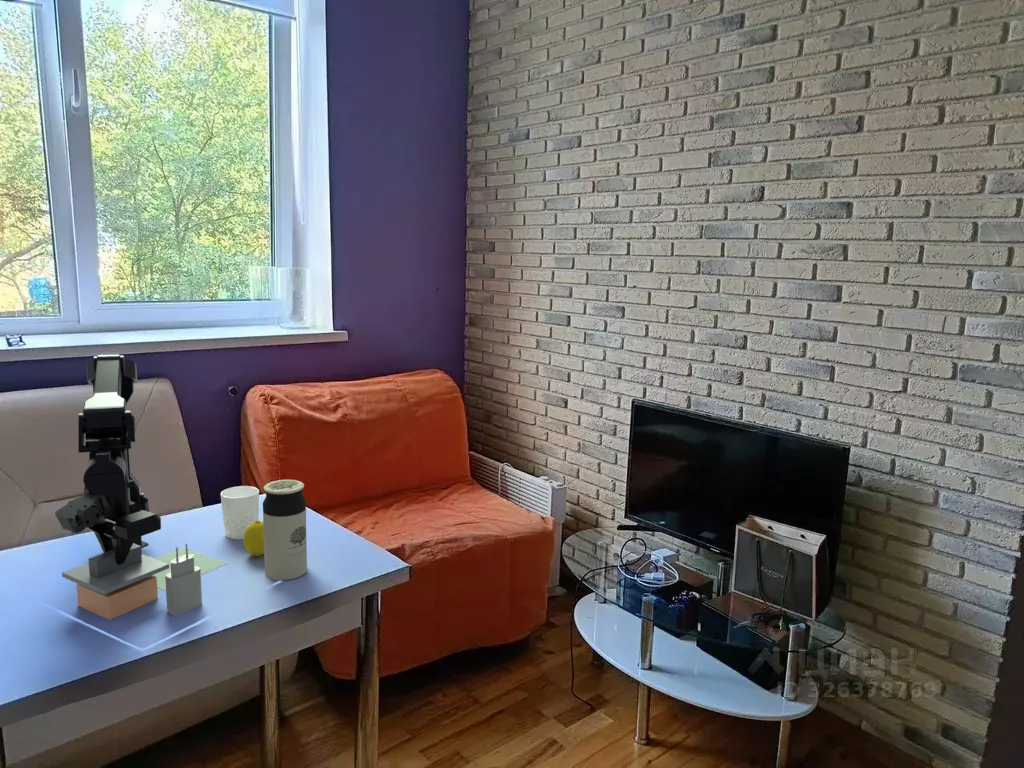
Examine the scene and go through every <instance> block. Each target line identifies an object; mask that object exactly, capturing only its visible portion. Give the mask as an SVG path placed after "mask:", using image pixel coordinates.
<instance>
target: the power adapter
mask: <svg viewBox="0 0 1024 768" xmlns="http://www.w3.org/2000/svg"><path fill="white" fill-rule="evenodd" d="M178 549H179V548H178V547H175V550H176V558H175V559H173V560H171V563H170V564H171V572H170V573H167V574H166V575H165V581H166V591H165V593H166V594H165V596H166V613H168V614H170V615H172V616H175V617H178V616H182V615H183V614H185V613H187V612H190V611H191V610H194V609H197V608H199V607H201V606H202V605H203V595H202V575H201V570H200V567H197V566H195V565H194V554H188V550H189V548H188V543H185V549H186V555H183V556H181V557H178Z"/></svg>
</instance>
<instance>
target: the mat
mask: <svg viewBox="0 0 1024 768" xmlns="http://www.w3.org/2000/svg"><path fill="white" fill-rule="evenodd" d="M188 554H194V565H195V566H197V567H200V570H201V576H202V575H205V574H207V573H209V572H212V571H214V570H216V569H218V568H221V567H223V566H225V565H228V564H229V563H228V562H225V561H222V560H220V559H217V558H214V557H210V556H208V555H206V554H202V553H198V552H197V551H193V550H191V549H188ZM183 555H186V547H180V548H178V557H181V556H183ZM153 558H154V559H157V560H160V561H162V562H165V563H168V564H169V569H166V570H164V571H161V572H159V573H156V574H154V575H152V576H155V577H157V589H159V590H162V591H164V592H166V581H165V575H166V574H167V573H170V572H171V564H170V563H171V560H173V559H175V558H176V549H174V550H172V551H170V552H167V553H164V554H161V555H159V556H157V557H153Z"/></svg>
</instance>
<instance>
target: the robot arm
mask: <svg viewBox="0 0 1024 768" xmlns="http://www.w3.org/2000/svg"><path fill="white" fill-rule="evenodd" d="M86 376H87V378H86V379H87V383H88V385H89V386H92V391H93V393H92V394H93V395H92V397H90V398H87V400H86V401H84V403H83V408H82V413H78V421H77V422H78V426H77V427H78V432H77V433H78V437H77V438H78V441H77V442H78V444H77V445H78V447H77V448H78V450H77V451H78V453H80V454H81V453H88V462H87V466H86V469H85V472H84V473H83V477H82V478H83V479H82V481H83V485H84V487H83V495H81V496H78V497H77V498H75V499H72V500H69V501H68V503H66V504H65V505H64V506H62V507H61V508H59V509H57V510H56V511H55V513H54V515H55V517H56V519H57V521H58V522H59V524H60V526H61V527H62V529H63V530H67V531H70V532H71V533H72V534H79V533H81V532H83V531H85V530H86V529H87V530H89V531H91V532H93V533H94V535H95V537H96V539H97V541H98V543H99V546H100V547H101V550H102V553H106V552H108V551H111V550H114V553H115V558H116V562H117V564H118V565H120V564H123V563H124V562H125V560H126V558H127V556H128V554H129V551H130V549H131V547H132V545H133V543H134V544H137V545H139V546H141V549H142V548H145V547H147V546H149V543H148V542H146V541H143V540H142V537H143V536H146V535H149V534H151V533H154V532H157V531H159V530H161V529H162V517H161V516H159V515H158V514H156V513H153V512H151V511H150V505H149V498H147V497H146V495H145V492H141V482H140V481H139V480H138V479H137V478H136V476H135V475H134V474H133V472H132V469H131V467H132V466H131V453H130V449H132V446H133V445H132V444H133V442H134V443H136V419H135V418H136V416H135V415H133V412H132V411H131V410H128V407H127V404H128V402H129V400H130V399H131V397H132V395H133V394H134V390H135V384H137V383H138V370H137V364H136V361H135V360H132V359H130V358H129V359H128V358H125V355H121V354H98V355H97V356H93V360H89V361H88V362H87V363H86ZM85 440H87V441H85Z"/></svg>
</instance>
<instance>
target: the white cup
mask: <svg viewBox="0 0 1024 768" xmlns="http://www.w3.org/2000/svg"><path fill="white" fill-rule="evenodd" d="M220 500H221V501H220V502H221V513H222V520H223V521H222V522H223V526H224V533H225V534H224V535H225V537H226V538H227V539H231V540H244V533H245V530H246V528H247V527H248V525H250V524H251V523H253V522H255V521H256V520H259V516H260V515H259V513H260V510H259V509H260V508H259V507H260V504H259V503H260V502H259V501H260V490H259V488H257V487H255V486H249V485H240V486H238V485H237V486H233V487H229V488H226V489H224V490H222V491H221V492H220Z"/></svg>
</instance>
